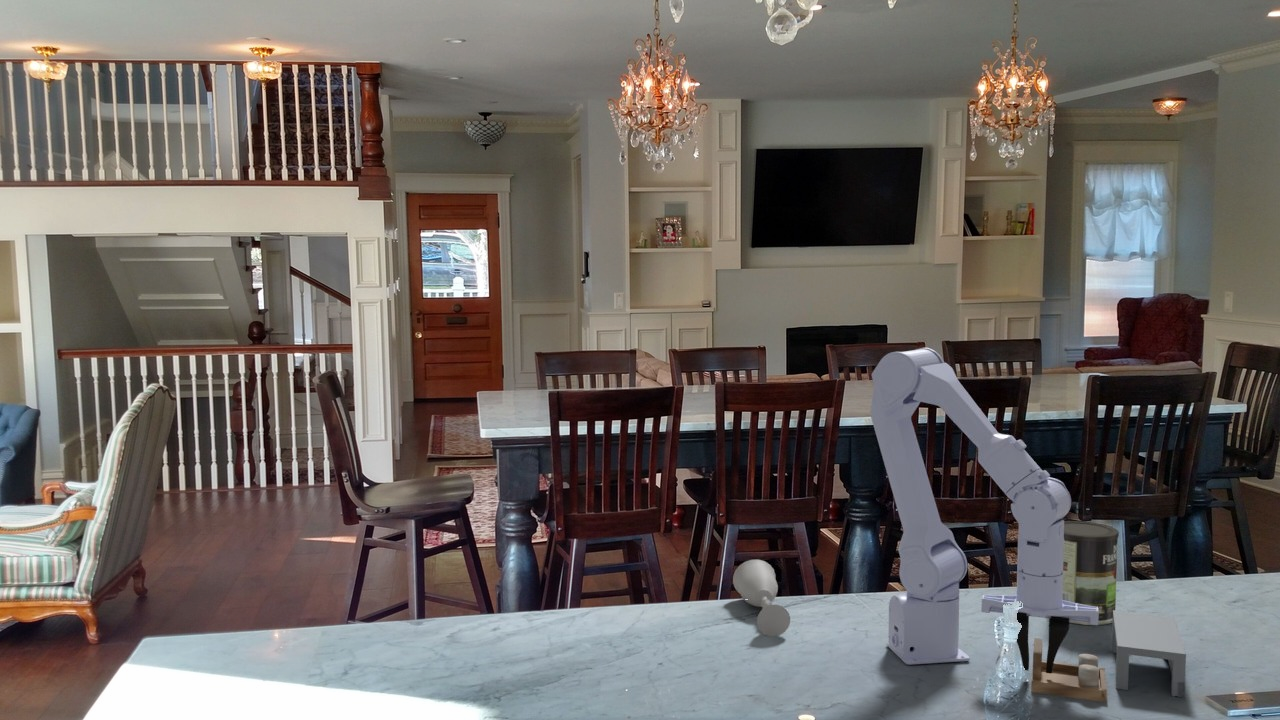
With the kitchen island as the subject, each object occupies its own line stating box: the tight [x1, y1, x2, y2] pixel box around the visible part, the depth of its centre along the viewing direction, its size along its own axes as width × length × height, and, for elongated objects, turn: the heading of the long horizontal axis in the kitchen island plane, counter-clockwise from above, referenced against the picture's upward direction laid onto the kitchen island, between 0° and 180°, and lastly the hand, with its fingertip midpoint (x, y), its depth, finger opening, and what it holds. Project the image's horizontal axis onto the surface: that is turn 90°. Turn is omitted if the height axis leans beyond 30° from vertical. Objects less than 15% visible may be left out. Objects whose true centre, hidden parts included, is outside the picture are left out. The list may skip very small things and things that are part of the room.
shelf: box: [1111, 609, 1187, 698], centre depth 140 cm, size 8×15×6 cm, turn 157°
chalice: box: [732, 559, 791, 637], centre depth 164 cm, size 7×7×18 cm
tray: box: [1030, 637, 1108, 703], centre depth 136 cm, size 9×8×5 cm
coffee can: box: [1062, 520, 1120, 626], centre depth 163 cm, size 10×10×14 cm
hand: (1037, 669), depth 138 cm, fingers open, 2 cm apart
